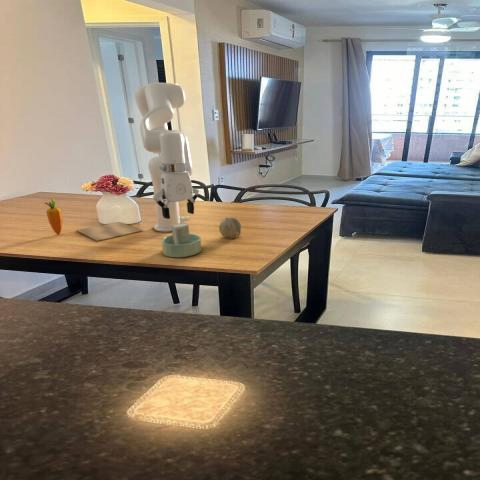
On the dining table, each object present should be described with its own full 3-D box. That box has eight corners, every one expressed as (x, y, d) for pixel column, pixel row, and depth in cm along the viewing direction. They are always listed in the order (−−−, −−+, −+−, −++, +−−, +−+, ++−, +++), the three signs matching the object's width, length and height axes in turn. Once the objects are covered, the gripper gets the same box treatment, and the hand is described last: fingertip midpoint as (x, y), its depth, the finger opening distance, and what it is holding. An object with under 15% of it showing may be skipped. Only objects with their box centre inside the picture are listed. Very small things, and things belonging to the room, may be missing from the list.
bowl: (188, 243, 152) (187, 231, 151) (208, 251, 144) (207, 238, 143) (155, 252, 142) (154, 239, 141) (176, 261, 134) (174, 247, 133)
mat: (119, 222, 177) (119, 221, 177) (141, 231, 165) (141, 230, 165) (77, 231, 164) (77, 230, 164) (97, 241, 152) (97, 240, 152)
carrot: (58, 237, 156) (51, 201, 151) (48, 236, 157) (40, 200, 152) (68, 233, 160) (61, 198, 156) (58, 232, 161) (51, 197, 156)
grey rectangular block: (186, 247, 146) (184, 222, 143) (191, 250, 143) (189, 225, 140) (173, 250, 143) (170, 224, 140) (178, 253, 140) (175, 227, 137)
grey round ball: (241, 242, 162) (248, 222, 158) (224, 243, 155) (231, 222, 152) (229, 231, 167) (235, 211, 163) (212, 232, 160) (218, 211, 157)
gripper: (156, 171, 124) (162, 222, 130) (201, 167, 137) (205, 213, 143) (145, 169, 129) (151, 218, 134) (190, 165, 142) (193, 210, 147)
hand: (179, 215), depth 138 cm, fingers open, 9 cm apart
